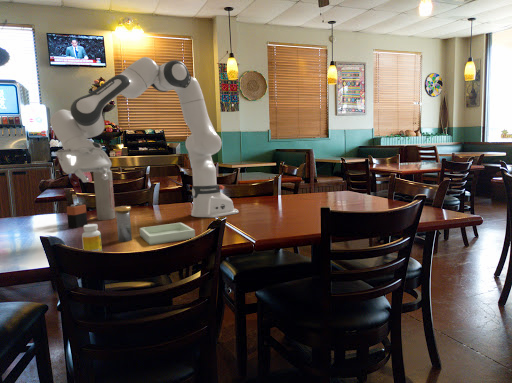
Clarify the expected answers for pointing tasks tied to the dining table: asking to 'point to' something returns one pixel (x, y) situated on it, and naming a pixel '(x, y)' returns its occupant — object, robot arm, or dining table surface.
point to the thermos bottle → (104, 196)
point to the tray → (166, 233)
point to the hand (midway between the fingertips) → (96, 180)
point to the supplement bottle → (91, 238)
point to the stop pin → (123, 223)
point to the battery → (76, 215)
